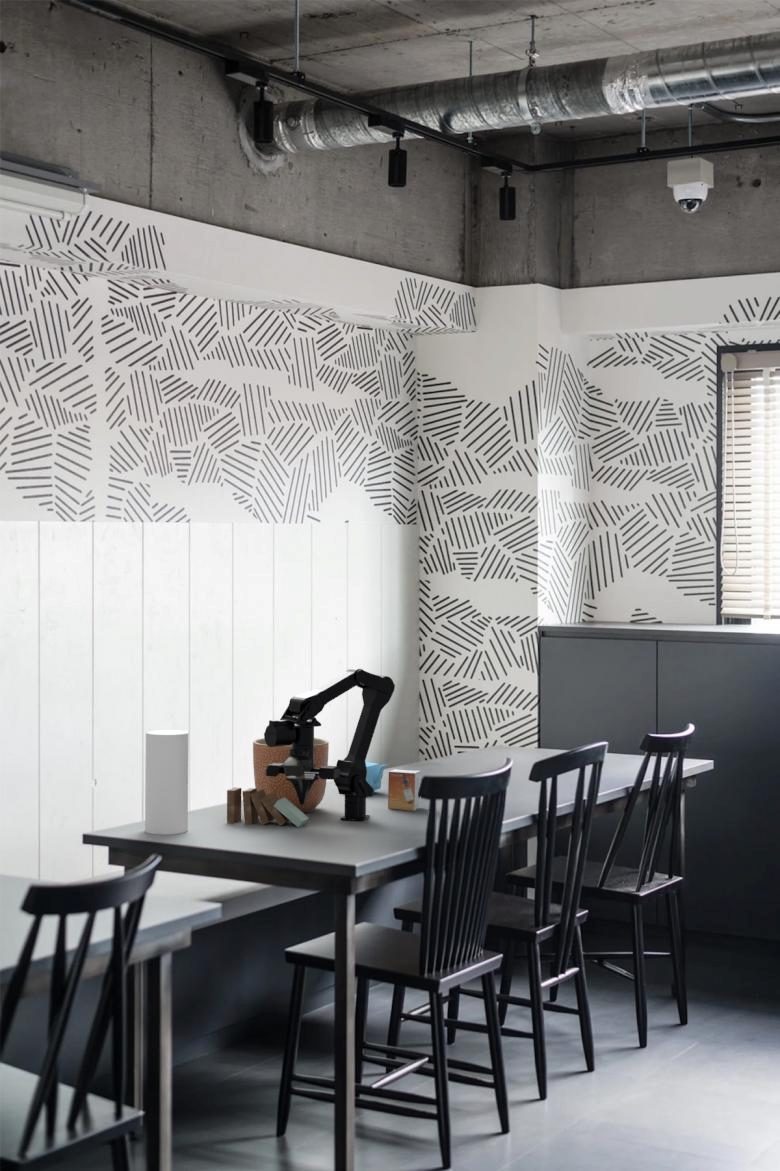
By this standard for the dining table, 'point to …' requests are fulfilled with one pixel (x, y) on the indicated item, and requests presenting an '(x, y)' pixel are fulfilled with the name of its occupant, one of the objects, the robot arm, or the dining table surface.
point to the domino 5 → (291, 812)
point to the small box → (403, 789)
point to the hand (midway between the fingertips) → (302, 804)
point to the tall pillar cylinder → (166, 782)
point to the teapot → (374, 775)
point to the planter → (280, 784)
